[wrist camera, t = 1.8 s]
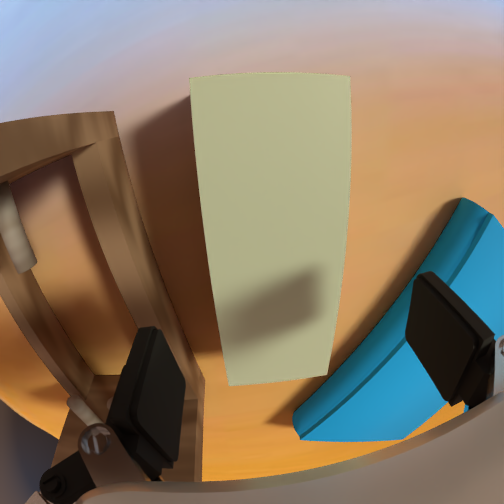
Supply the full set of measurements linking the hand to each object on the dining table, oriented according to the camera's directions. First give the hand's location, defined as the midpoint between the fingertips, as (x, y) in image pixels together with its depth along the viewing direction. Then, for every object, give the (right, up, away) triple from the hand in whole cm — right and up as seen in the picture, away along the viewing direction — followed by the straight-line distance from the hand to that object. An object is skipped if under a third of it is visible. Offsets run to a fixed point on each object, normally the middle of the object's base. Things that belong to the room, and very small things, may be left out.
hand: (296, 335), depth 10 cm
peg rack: (-13, 0, +8) cm, 15 cm away
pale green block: (-1, +4, +7) cm, 9 cm away
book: (+15, -6, +14) cm, 22 cm away
